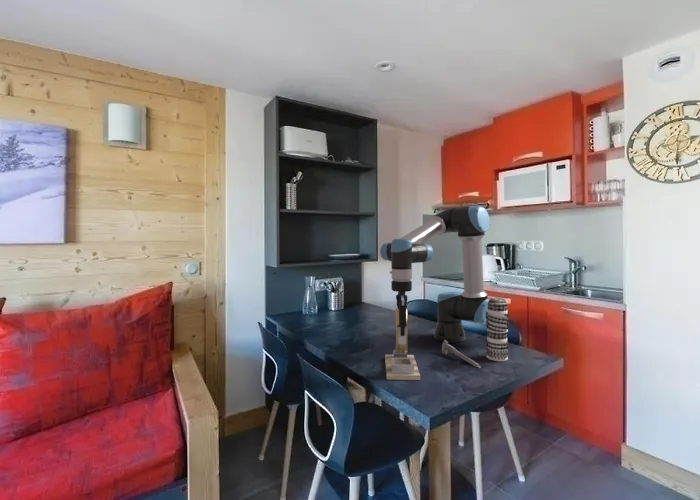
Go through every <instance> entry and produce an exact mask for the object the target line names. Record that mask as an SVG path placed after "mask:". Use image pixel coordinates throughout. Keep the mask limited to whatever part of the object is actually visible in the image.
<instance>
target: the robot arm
mask: <svg viewBox="0 0 700 500" xmlns="http://www.w3.org/2000/svg"><path fill="white" fill-rule="evenodd" d="M489 215H490V214H489V213H488V211H487V210H486V208H484V207H483V206H482V205H471V206H461V207H450V208H446V209H444V210H441V211H440V212H438V213H436V214H435V215H433V216H431V217H430V218H429V219H428V221H427V222H425V223H423V224H422V225H420V226H418V227H417V228H415V229H413V230H412V231H410V232H409V233H407V234H405V235H403V236H402V237H400V238H393V239H392V240H391V242H385V243H383V244H381V247H380V249H379V254H380V257H381V258H382V259H383V260H384V261H389V262H391V271H389V274H390V275H391V279H392V280H391V282H390V283H391V288H390V289H391V290H392V292H397V294H396V295H395V299H396V306H397V307H396V309H397V308H399V325H397V327H399V344H406V326H407V324H406V309H408V296H407V294H406V292H407V293H408V292H411V291H412V290H413V289H412V288H413V286H412V284H413V282H412V280H413V268H412V267H413V265H412V264H416V263H417V264H418V263H423V264H424V263H427V262H430V261H431V260H432V259H433V256H434V249H433V247H432V245H431V244H428V243H427V242H429V241H430V240H432V239H433V238H436V236H443V235H444V234H447V233H457V237H458V238H459V239H460V240H461V254H462V273H463V274H462V275H463V289H464V290H463V291H462V292H461V291H445V292H441V293H439V294H438V295H437V301H436V303H437V323H436V327H435V329H434V332H433V338H434V339H435V340H436V341H440V342H442V343H443V342H444V340H446V342H447V341H448V343H462V342H464V341H466V333H465V332H466V331H465V330H464V326H463V324H462V322H463V321H464V322H469V323H474V324H479V325H481V324H482V325H484V324H487V323H486V320H487V319H486V316H487V315H486V312H487V308H488V302H487V301H489V300H490V299H491V298H489V297H488V293H487V292H486V291H485V289H484V286H485V285H484V267H483V247H482V245H483V244H482V239H483V238H484V237H485V236H486V234H485V233H486V232H487V231H488V230H489V229H490V225H491V224H490V223H491V221H490V216H489Z"/></svg>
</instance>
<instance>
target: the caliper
mask: <svg viewBox="0 0 700 500" xmlns="http://www.w3.org/2000/svg"><path fill="white" fill-rule="evenodd" d="M441 353H442V354H444V355H448V354H449V353H450V354H452V355H456V356H457V357H459V358H460V359H462V360H464V361H465V362H466V363H468V364H470V365H471V366H473V367H475V368H478V369H481V368H482V366H480V364H479V363H478V362H476V361H475V360H473V359H471V358H470V357H469V356H466V355H465V354H463V353H462V352H460V351H459V350H457V349H456V348H455V347H454V346H452V345H451V344H449V342H448V341H447V342H446V340H444V342H443V341H442V345H441Z"/></svg>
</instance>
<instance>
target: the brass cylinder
mask: <svg viewBox="0 0 700 500" xmlns="http://www.w3.org/2000/svg"><path fill="white" fill-rule="evenodd" d="M408 313H409V312H408V308H406V324H407V326H406V344H399V327H397V325H399V308H397V307H396V308H395V350H396V352H397V353H407V354H408V352H409V351H408V350H409V349H408V347H409V344H408V343H409V341H408V337H409V335H408V334H409V333H408V329H409V328H408V327H409V326H408V325H409V324H408V323H409V321H408V317H409V316H408V315H409V314H408Z"/></svg>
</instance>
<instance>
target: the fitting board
mask: <svg viewBox="0 0 700 500" xmlns="http://www.w3.org/2000/svg"><path fill="white" fill-rule="evenodd" d="M392 350H393V351H392V354H385V355H384V361H385V374H386V375H385V376H386V380H389V381H391V380H394V381H396V380H397V381H399V380H400V381H407V380H408V381H420V380H421V374H420V371H419V368H418V364H417V361H416V358H415V356H414V354H408V352H407V353H397V352H396V349H392Z"/></svg>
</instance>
